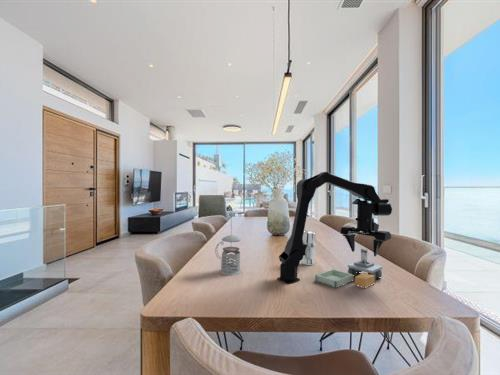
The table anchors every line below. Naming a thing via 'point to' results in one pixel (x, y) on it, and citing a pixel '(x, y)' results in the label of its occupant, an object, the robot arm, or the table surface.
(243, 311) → the table surface
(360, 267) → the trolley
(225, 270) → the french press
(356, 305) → the table surface
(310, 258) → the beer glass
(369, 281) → the orange rectangular block
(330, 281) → the tray
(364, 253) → the pin
